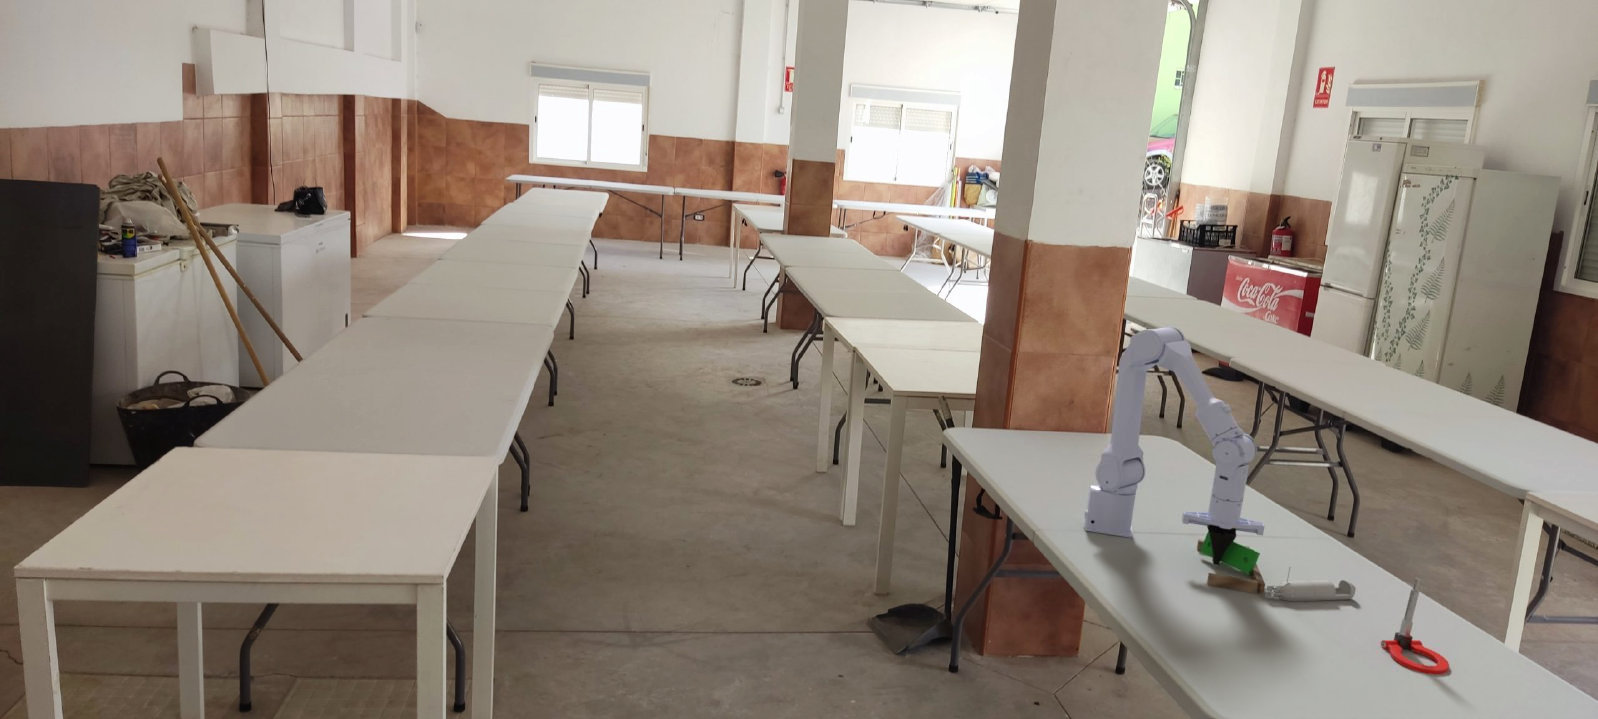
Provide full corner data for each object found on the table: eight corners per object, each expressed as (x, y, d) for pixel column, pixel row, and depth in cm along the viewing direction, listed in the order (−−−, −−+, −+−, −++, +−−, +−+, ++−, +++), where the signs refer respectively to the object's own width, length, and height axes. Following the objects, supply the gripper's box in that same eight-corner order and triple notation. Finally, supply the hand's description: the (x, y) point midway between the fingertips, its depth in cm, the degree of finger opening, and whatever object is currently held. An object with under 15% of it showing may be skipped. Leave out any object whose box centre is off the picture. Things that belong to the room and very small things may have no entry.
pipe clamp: (1258, 578, 203) (1267, 555, 203) (1247, 574, 201) (1257, 552, 201) (1210, 555, 212) (1219, 534, 212) (1199, 551, 210) (1208, 530, 210)
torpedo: (1341, 592, 199) (1348, 560, 198) (1359, 604, 195) (1366, 570, 193) (1256, 595, 195) (1262, 561, 194) (1272, 606, 191) (1279, 572, 189)
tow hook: (1459, 676, 170) (1420, 646, 179) (1479, 604, 167) (1438, 576, 176) (1412, 677, 169) (1374, 646, 178) (1430, 604, 166) (1391, 576, 174)
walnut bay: (1207, 585, 197) (1209, 575, 197) (1196, 548, 215) (1198, 538, 215) (1263, 594, 195) (1265, 584, 195) (1247, 555, 213) (1249, 546, 213)
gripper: (1189, 497, 201) (1178, 564, 204) (1271, 509, 197) (1259, 577, 200) (1185, 485, 207) (1175, 551, 210) (1265, 497, 204) (1253, 563, 207)
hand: (1215, 563), depth 206 cm, fingers closed
